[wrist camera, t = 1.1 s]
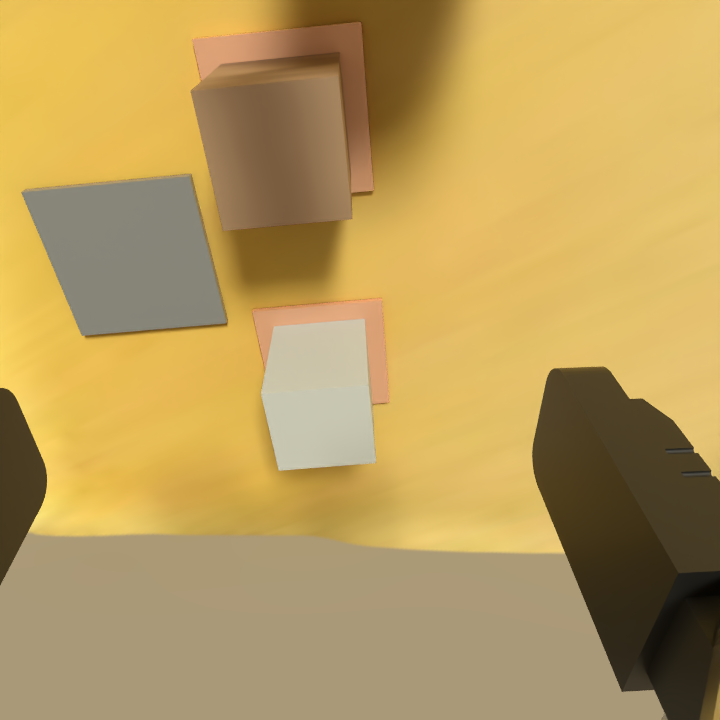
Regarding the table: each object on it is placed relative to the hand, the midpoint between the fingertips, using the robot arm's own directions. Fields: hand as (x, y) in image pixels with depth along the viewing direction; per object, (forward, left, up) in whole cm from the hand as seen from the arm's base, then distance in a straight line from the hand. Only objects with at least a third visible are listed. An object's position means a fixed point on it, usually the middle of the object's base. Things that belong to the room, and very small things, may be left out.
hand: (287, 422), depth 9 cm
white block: (+2, +13, -21) cm, 24 cm away
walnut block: (+2, 0, -21) cm, 21 cm away
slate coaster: (+11, +6, -21) cm, 24 cm away
